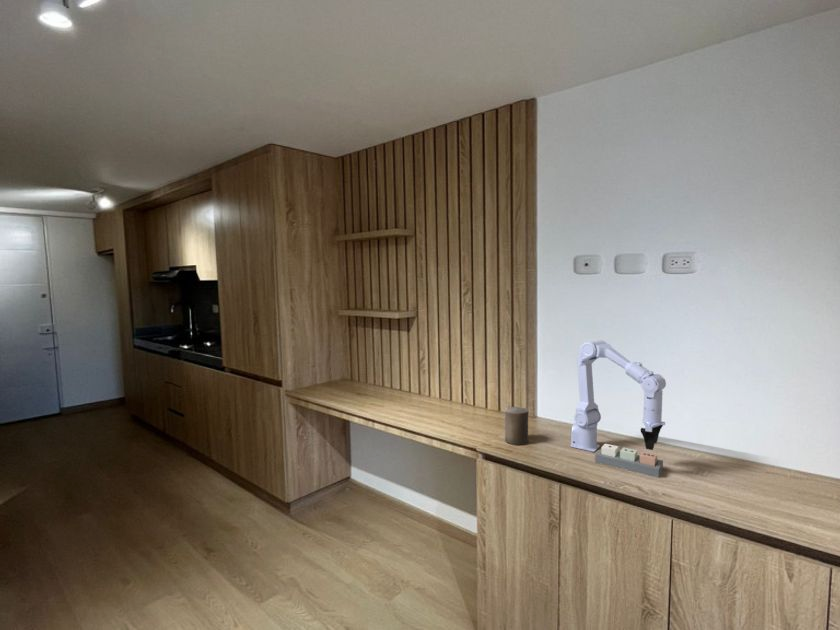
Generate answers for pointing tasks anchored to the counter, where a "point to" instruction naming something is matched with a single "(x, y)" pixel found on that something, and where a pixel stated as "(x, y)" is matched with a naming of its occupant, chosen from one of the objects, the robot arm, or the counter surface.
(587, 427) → the robot arm
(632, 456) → the tile
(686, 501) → the counter surface
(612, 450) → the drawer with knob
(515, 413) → the pillar candle
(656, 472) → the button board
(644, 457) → the three-pip tile
